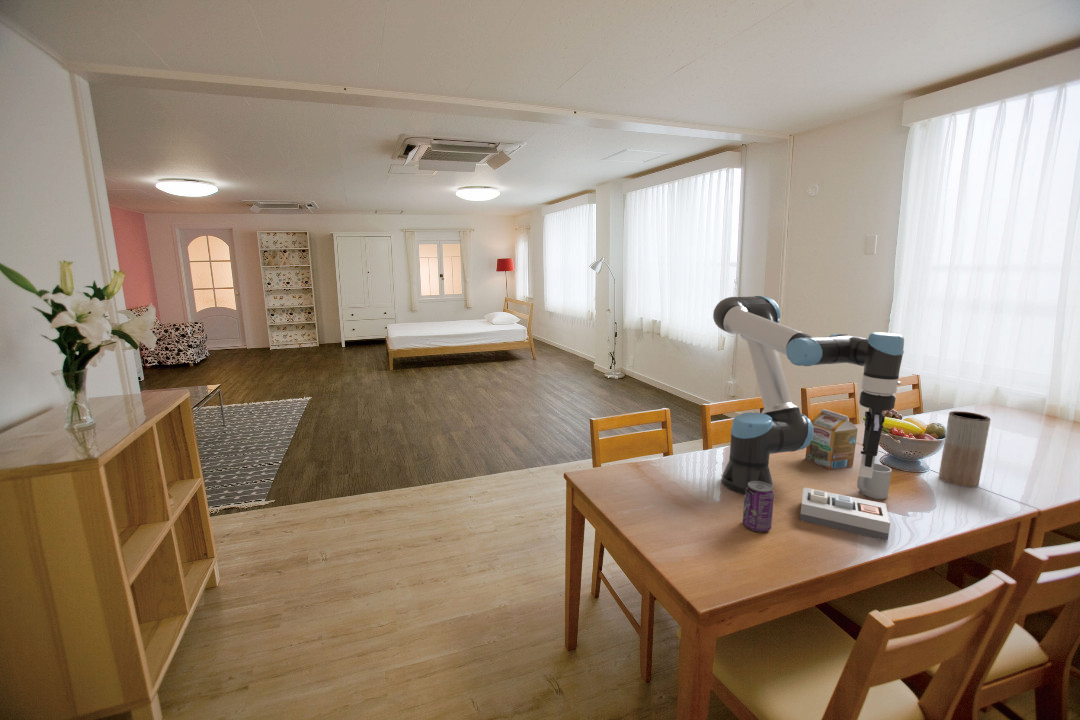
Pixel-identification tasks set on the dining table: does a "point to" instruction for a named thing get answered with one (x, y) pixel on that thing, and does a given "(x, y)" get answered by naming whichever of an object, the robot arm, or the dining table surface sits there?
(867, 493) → the cup
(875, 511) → the key right
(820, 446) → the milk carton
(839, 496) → the key mid
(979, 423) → the planter
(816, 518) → the keypad
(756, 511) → the beverage can
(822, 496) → the key left
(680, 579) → the dining table surface
